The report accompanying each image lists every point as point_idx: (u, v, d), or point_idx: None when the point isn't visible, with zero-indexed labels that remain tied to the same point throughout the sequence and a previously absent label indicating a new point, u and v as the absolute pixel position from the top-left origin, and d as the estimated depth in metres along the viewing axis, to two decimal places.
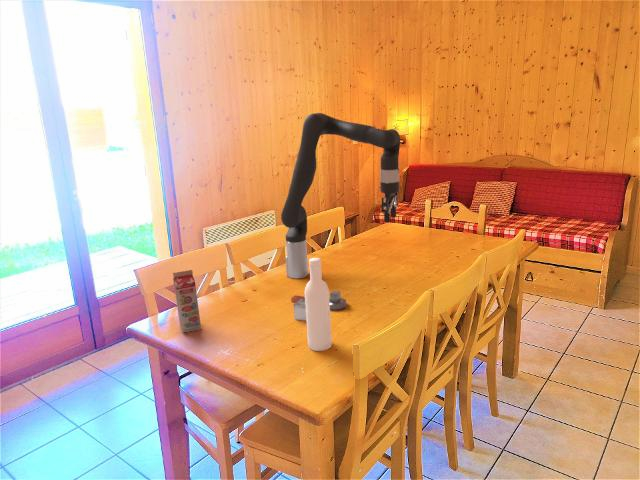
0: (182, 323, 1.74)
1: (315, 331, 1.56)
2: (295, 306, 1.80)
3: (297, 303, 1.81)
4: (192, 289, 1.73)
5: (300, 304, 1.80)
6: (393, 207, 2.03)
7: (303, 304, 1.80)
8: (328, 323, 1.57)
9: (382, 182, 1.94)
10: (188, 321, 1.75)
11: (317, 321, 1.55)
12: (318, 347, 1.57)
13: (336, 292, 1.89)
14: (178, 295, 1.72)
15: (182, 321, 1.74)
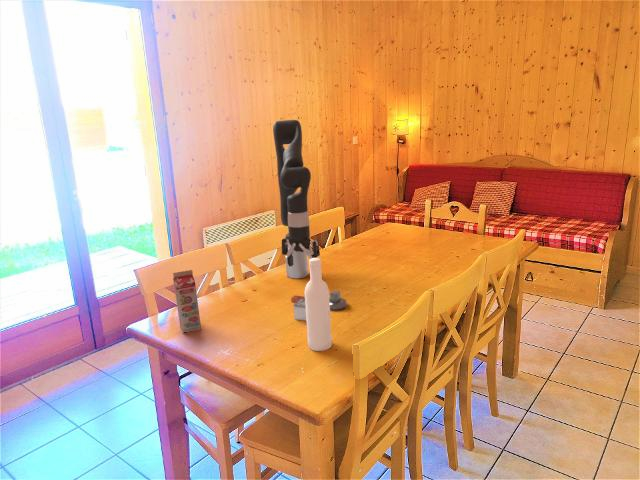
0: (182, 323, 1.74)
1: (315, 331, 1.56)
2: (295, 306, 1.80)
3: (297, 303, 1.81)
4: (192, 289, 1.73)
5: (300, 304, 1.80)
6: (291, 254, 1.78)
7: (303, 304, 1.80)
8: (328, 323, 1.57)
9: (303, 226, 1.70)
10: (188, 321, 1.75)
11: (317, 321, 1.55)
12: (318, 347, 1.57)
13: (336, 292, 1.89)
14: (178, 295, 1.72)
15: (182, 321, 1.74)
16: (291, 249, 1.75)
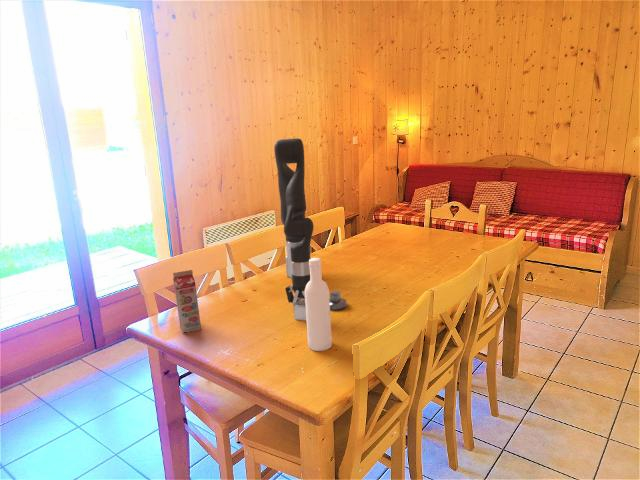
0: (182, 323, 1.74)
1: (315, 331, 1.56)
2: (295, 306, 1.80)
3: (297, 303, 1.81)
4: (192, 289, 1.73)
5: (300, 304, 1.80)
6: None
7: (303, 304, 1.80)
8: (328, 323, 1.57)
9: (306, 275, 1.75)
10: (188, 321, 1.75)
11: (317, 321, 1.55)
12: (318, 347, 1.57)
13: (336, 292, 1.89)
14: (178, 295, 1.72)
15: (182, 321, 1.74)
16: (294, 296, 1.80)
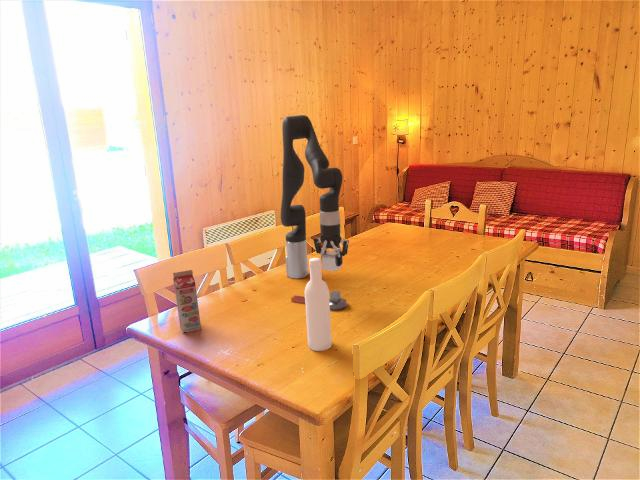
0: (182, 323, 1.75)
1: (315, 331, 1.56)
2: (323, 256, 1.84)
3: (325, 254, 1.84)
4: (192, 289, 1.73)
5: (328, 254, 1.83)
6: None
7: (331, 254, 1.83)
8: (328, 323, 1.57)
9: (335, 224, 1.79)
10: (188, 321, 1.75)
11: (317, 321, 1.55)
12: (318, 347, 1.57)
13: (336, 292, 1.89)
14: (178, 295, 1.72)
15: (182, 321, 1.74)
16: None
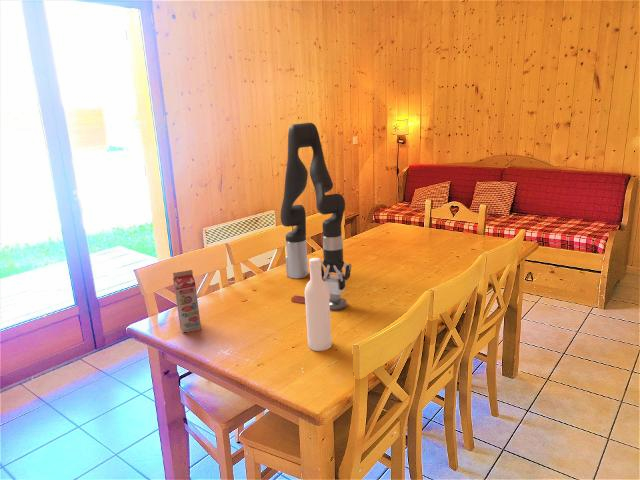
0: (182, 323, 1.75)
1: (315, 331, 1.56)
2: (326, 280, 1.86)
3: (328, 277, 1.87)
4: (192, 289, 1.73)
5: (331, 278, 1.86)
6: None
7: (334, 278, 1.86)
8: (328, 323, 1.57)
9: (338, 249, 1.82)
10: (188, 321, 1.75)
11: (317, 321, 1.55)
12: (318, 347, 1.57)
13: None
14: (178, 295, 1.72)
15: (182, 321, 1.74)
16: None
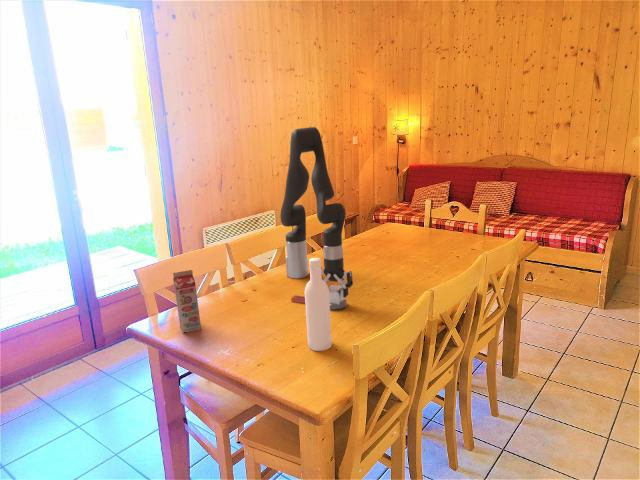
0: (182, 323, 1.75)
1: (315, 331, 1.56)
2: None
3: (329, 288, 1.88)
4: (192, 289, 1.73)
5: (332, 289, 1.87)
6: None
7: (334, 289, 1.87)
8: (328, 323, 1.57)
9: (338, 258, 1.83)
10: (188, 321, 1.75)
11: (317, 321, 1.55)
12: (318, 347, 1.57)
13: None
14: (178, 295, 1.72)
15: (182, 321, 1.74)
16: (326, 279, 1.88)
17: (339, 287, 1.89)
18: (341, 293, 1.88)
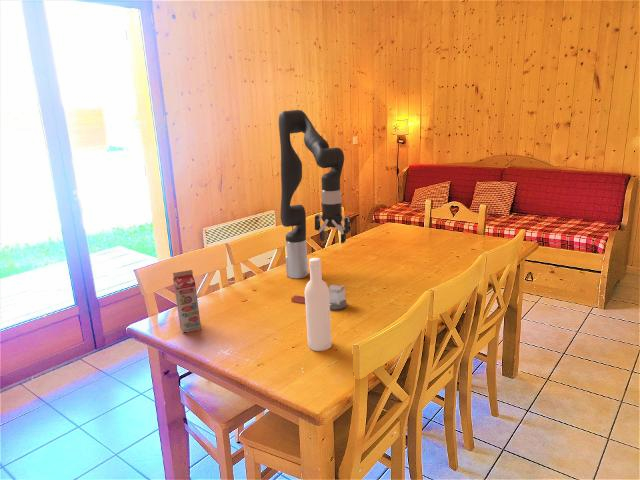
0: (182, 323, 1.75)
1: (315, 331, 1.56)
2: None
3: (329, 288, 1.88)
4: (192, 289, 1.73)
5: (332, 289, 1.87)
6: (323, 230, 1.91)
7: (335, 289, 1.87)
8: (328, 323, 1.57)
9: (336, 203, 1.83)
10: (188, 321, 1.75)
11: (317, 321, 1.55)
12: (318, 347, 1.57)
13: None
14: (178, 295, 1.72)
15: (182, 321, 1.74)
16: (324, 225, 1.88)
17: (339, 287, 1.89)
18: (341, 293, 1.88)
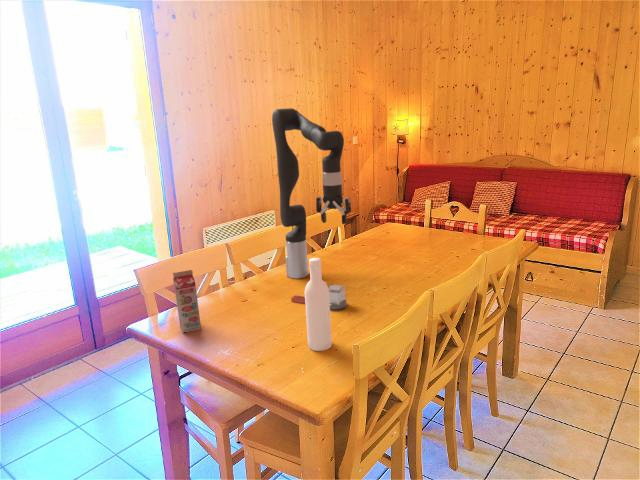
0: (182, 323, 1.75)
1: (315, 331, 1.56)
2: None
3: (329, 288, 1.88)
4: (192, 289, 1.73)
5: (332, 289, 1.87)
6: (324, 212, 1.97)
7: (335, 289, 1.87)
8: (328, 323, 1.57)
9: (337, 185, 1.89)
10: (188, 321, 1.75)
11: (317, 321, 1.55)
12: (318, 347, 1.57)
13: None
14: (178, 295, 1.72)
15: (182, 321, 1.74)
16: (325, 206, 1.94)
17: (339, 287, 1.89)
18: (341, 293, 1.88)
